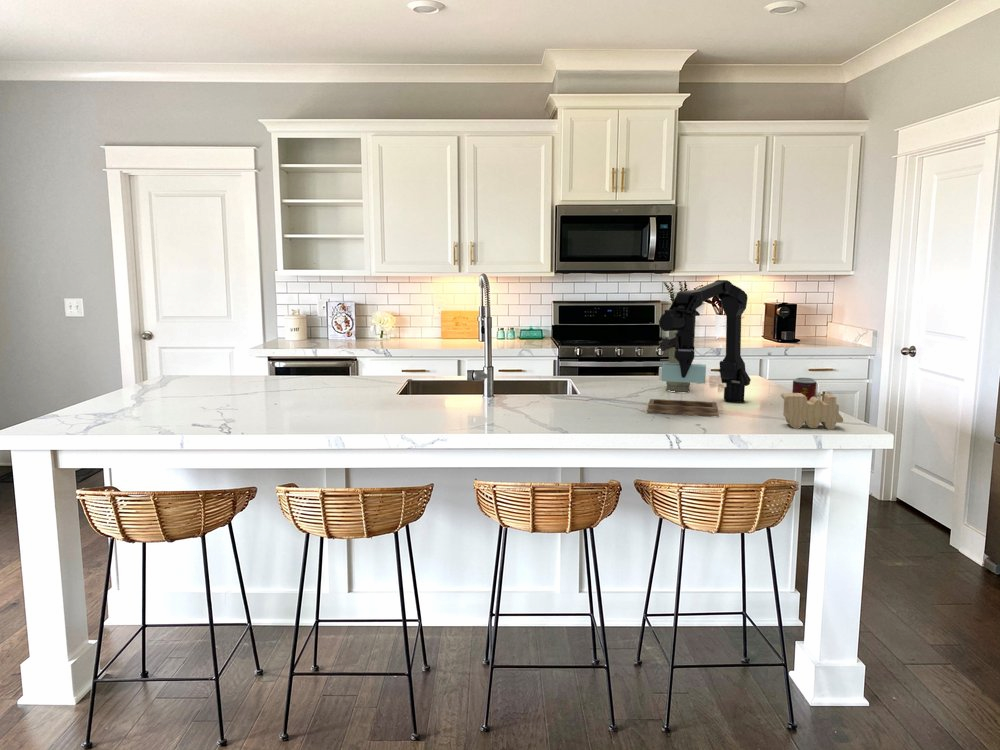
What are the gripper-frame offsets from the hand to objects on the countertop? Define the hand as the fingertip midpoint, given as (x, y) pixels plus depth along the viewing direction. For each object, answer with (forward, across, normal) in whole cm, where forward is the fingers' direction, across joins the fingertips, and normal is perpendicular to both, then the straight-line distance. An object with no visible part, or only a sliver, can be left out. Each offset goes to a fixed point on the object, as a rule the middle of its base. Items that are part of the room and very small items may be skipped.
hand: (683, 376), depth 240 cm
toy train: (+12, +13, +38) cm, 42 cm away
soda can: (+12, -3, +38) cm, 40 cm away
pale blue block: (+2, 0, 0) cm, 2 cm away
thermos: (+12, -38, -2) cm, 40 cm away
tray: (+12, 0, 0) cm, 12 cm away
